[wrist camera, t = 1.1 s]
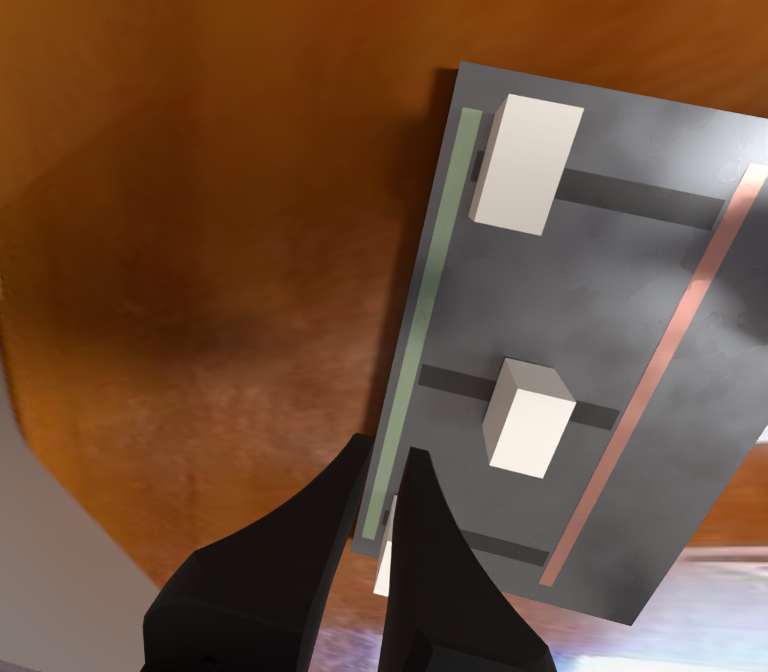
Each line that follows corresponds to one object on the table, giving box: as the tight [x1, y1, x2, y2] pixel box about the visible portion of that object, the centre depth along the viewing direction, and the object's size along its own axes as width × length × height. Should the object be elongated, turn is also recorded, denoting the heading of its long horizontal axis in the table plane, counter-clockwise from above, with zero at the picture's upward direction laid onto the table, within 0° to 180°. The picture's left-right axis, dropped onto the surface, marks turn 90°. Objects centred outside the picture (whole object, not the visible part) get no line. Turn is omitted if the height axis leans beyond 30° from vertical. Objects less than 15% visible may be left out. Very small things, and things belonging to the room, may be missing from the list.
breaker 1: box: [373, 495, 397, 597], centre depth 22 cm, size 2×4×3 cm, turn 169°
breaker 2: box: [468, 94, 584, 236], centre depth 14 cm, size 2×4×3 cm, turn 169°
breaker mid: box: [482, 358, 576, 479], centre depth 18 cm, size 2×4×3 cm, turn 169°
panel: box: [351, 61, 768, 626], centre depth 20 cm, size 18×27×1 cm, turn 169°
